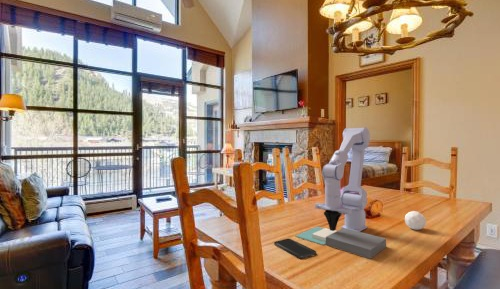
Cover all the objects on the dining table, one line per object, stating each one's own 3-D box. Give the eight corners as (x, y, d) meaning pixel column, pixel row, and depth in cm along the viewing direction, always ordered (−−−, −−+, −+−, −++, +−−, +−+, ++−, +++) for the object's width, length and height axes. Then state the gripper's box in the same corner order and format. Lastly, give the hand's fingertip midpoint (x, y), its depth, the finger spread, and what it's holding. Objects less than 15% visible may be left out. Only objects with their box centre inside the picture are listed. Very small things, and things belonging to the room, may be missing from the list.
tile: (325, 231, 109) (325, 227, 109) (341, 235, 104) (341, 232, 104) (311, 237, 102) (311, 233, 102) (328, 242, 97) (328, 238, 97)
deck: (343, 235, 105) (343, 227, 105) (386, 246, 93) (386, 238, 93) (325, 244, 95) (325, 236, 95) (370, 259, 84) (370, 249, 84)
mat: (316, 227, 115) (316, 226, 115) (343, 234, 106) (343, 233, 106) (295, 236, 104) (295, 235, 104) (323, 245, 95) (323, 244, 95)
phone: (300, 257, 84) (272, 242, 96) (300, 260, 84) (272, 245, 96) (318, 251, 88) (289, 237, 100) (318, 255, 88) (289, 240, 100)
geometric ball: (409, 235, 112) (397, 218, 116) (422, 226, 115) (409, 210, 118) (421, 231, 106) (407, 214, 109) (434, 222, 108) (420, 205, 111)
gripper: (310, 193, 103) (311, 227, 103) (345, 199, 93) (345, 237, 93) (320, 191, 108) (320, 223, 108) (354, 196, 98) (354, 232, 98)
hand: (332, 229), depth 101 cm, fingers closed
